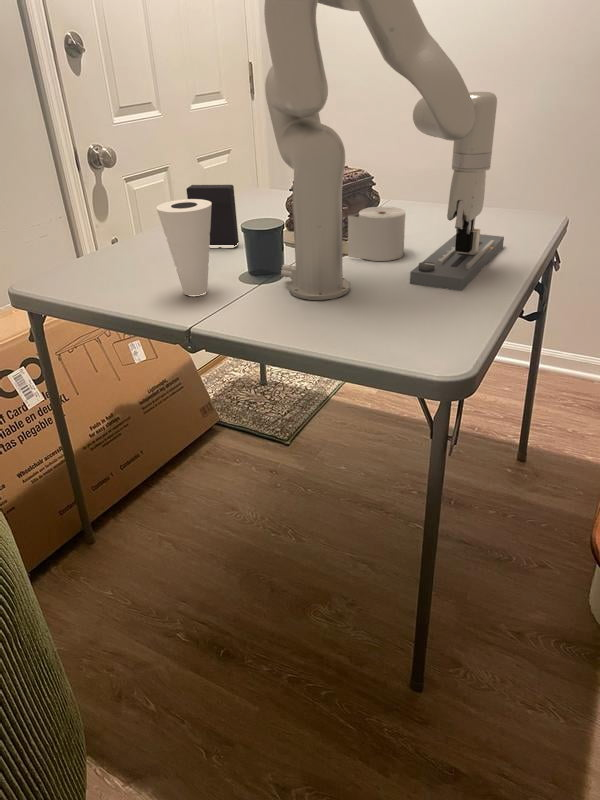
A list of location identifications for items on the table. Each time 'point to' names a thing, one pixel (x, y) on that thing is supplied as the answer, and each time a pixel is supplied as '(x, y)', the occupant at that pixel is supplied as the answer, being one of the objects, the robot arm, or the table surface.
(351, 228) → the toilet tissue
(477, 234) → the fader
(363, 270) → the table surface
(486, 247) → the console
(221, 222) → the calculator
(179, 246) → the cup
